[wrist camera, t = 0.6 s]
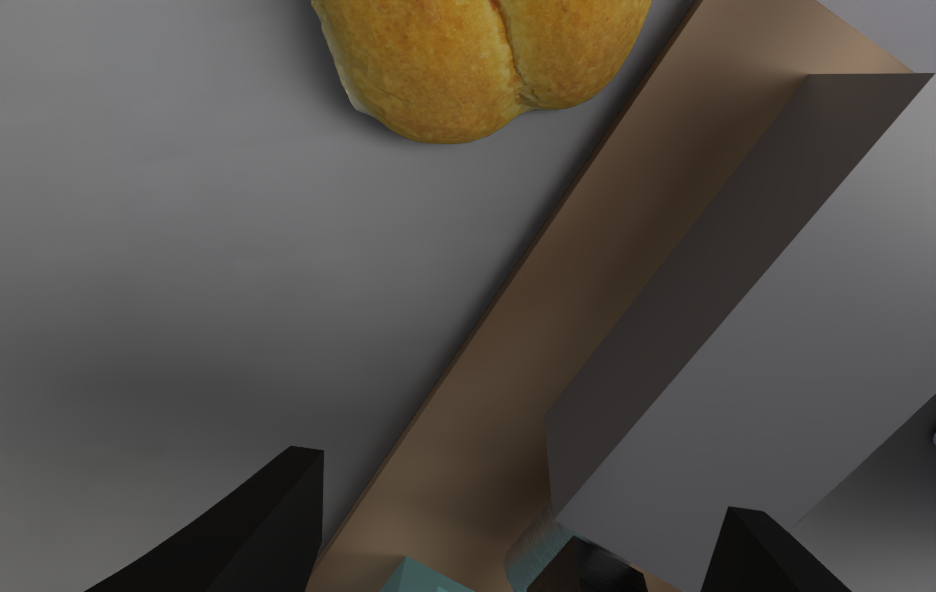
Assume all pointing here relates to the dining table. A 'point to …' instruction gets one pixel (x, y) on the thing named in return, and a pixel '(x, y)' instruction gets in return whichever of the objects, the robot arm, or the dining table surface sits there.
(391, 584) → the teal cradle
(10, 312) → the dining table surface
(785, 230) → the sleeve
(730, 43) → the walnut board
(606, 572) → the silver elongated piece
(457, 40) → the bread roll
